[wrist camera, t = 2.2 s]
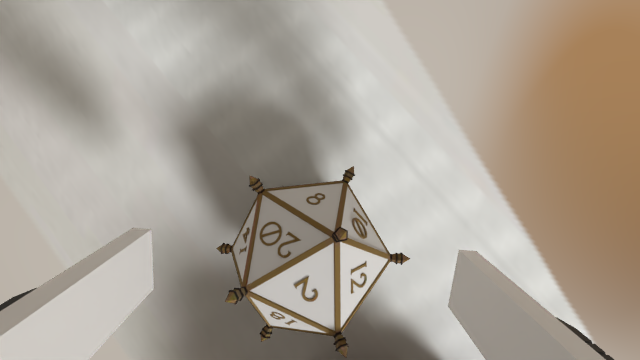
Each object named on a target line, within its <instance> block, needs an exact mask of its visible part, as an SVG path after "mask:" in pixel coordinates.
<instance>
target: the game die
mask: <svg viewBox="0 0 640 360" xmlns="http://www.w3.org/2000/svg"><path fill="white" fill-rule="evenodd" d="M353 176H355V175H354V166H353V167H351V168H350V169H348V170H345V174H343V180H342V181H334V182H325V183H315V184H306V185H297V186H287V187H284V186H283V187H278V188H269V189H263V186H262V185H263V184H262V183H260V179H259V178H258V179H257V178H254V177H252V176H250V185H249V187H252V188H253V191H254V190H255V191H256V192H257V193H258V196H257V198H256V200H255V202H254V204H253V206H252V208H251V210H250V212H249V214H248V216H247V218H246V220H245V222H244V224H243V226H242V228H241V230H240V232H239V234H238V236H237V238H236V240H235V242H234V244H233V246H231V245H229V244H225V243H223V244H222V245H221V246H219V247H218V248H216V249H218V250H219V251H220V252H221V254H224V253H225V254H228V253H229V252H232V256H233V260H234V263H235V267H236V270H237V274H238V278H239V281H240V285H241V288H234V290H230V291H229V294H228V297H227V299H226V301H225V302H230V303H234V304H237V302H238V301H241V300H242V298H243V297H244V295H245V296H246V297H247V299H248V300H249V301H250V303H251V304H252V305H253V307H254V308H255V309H256V311H257V312H258V313H259V315H260V316H261V317H262V318H263V320H264V321H265V322H266V324H267V325H266V326H265V327H264V328H263V329H262V331H261V332H260V335H261V342H262V341H264V340H266V339H268V338H270V335H271V334H272V328H273V327H274V328H281V329H288V330H295V331H302V332H309V333H315V334H322V335H329V336H334V338H335V343H334V345H336V351H338V352H340V353H341V354H342V355H343V356H345V357H347V347H348V343H346V339H345V337H343V336H342V332H343V330H344V329H345V327H346V326H347V324H348V323H349V321H350V320H351V318H352V317H353V316H354V314H355V313H356V311H357V310H358V308H359V307H360V305H361V304H362V302H363V301H364V299H365V298H366V296H367V295H368V293H369V292H370V291H371V289H372V288H373V286H374V285H375V283H376V282H377V280H378V279H379V277H380V276H381V274H382V273H383V271H384V270H385V268H386V267H387V265H388V264H389V263H390V262H395V263H396V264H397V263H401V265H402V263H404V262H405V261H407V260H409V259H410V258H408V257H406V256H405V255H403V254H402V253H400V254H397V253H396V254H390V253H389V251H388V250H387V248H386V246H385V245H384V243H383V241H382V240H381V238H380V236H379V235H378V233H377V231H376V230H375V228H374V226H373V225H372V223H371V221H370V220H369V218H368V216H367V215H366V213H365V211H364V210H363V208H362V206H361V205H360V203H359V201H358V200H357V198H356V196H355V195H354V193H353V191H352V190H351V188H350V186H349V185H348V183H349V181H350V180H352V177H353Z"/></svg>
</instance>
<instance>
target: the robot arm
mask: <svg viewBox="0 0 640 360" xmlns="http://www.w3.org/2000/svg"><path fill="white" fill-rule="evenodd" d="M153 289H154V280H153V254H152V229H139V228H132V229H131V230H129V231H127V232H126V233H124V234H123V235H121V236H119V237H118V238H116V239H115V240H113V241H111V242H110V243H108V244H107V245H105V246H103V247H102V248H100V249H99V250H97V251H96V252H94V253H92V254H91V255H89V256H88V257H86V258H84V259H83V260H81V261H80V262H78V263H76V264H75V265H73V266H72V267H70V268H68V269H67V270H65V271H64V272H62V273H60V274H59V275H57V276H56V277H54V278H52V279H51V280H49V281H48V282H46V283H45V284H43V285H41V286H40V287H38V288H35V289H32V290H30V291H27V292H25V293H22V294H20V295H18V296H15V297H13V298H11V299H9V300H8V301H6V302H5V303H3V304H1V305H0V360H89V359H90V357H92V355H93V354H94V353H95V352H96V351H97V350H98V349H99V348H100V347H101V346H102V344H103V343H104V342H105V341H106V340H107V339H108V338H109V337H110V336H111V335H112V334H113V333H114V332H115V330H116V329H117V328H118V327H119V326H120V325H121V324H122V323H123V322H124V321H125V320H126V318H127V317H128V316H129V315H130V314H131V313H132V312H133V311H134V310H135V309H136V308H137V306H138V305H139V304H140V303H141V302H142V301H143V300H144V299H145V298H146V297H147V296H148V294H149V293H150V292H151V291H152V290H153ZM448 307H449V308H450V310H451V311H452V312H453V314H454V315H455V317H456V318H457V320H458V321H459V322H460V324H461V325H462V327H463V328H464V329H465V331H466V332H467V334H468V335H469V337H470V338H471V339H472V341H473V342H474V344H475V345H476V346H477V348H478V349H479V351H480V352H481V354H482V355H483V356H484V358H485V359H486V360H614V359H613V358H612V357H610V356H609V355H606V354H605V352H604V351H603V350H602V349H600V348H599V347H598V346H597V345H596V344H592V341H591V340H589V339H588V338H587V337H586V336H584V335H583V334H582V333H581V332H580V331H578V330H577V329H576V328H574V327H572V326H571V325H569V324H567V323H565V322H564V321H562V320H560V319H558V318H556V317H554V316H553V315H552V314H551V313H549V312H548V311H547V310H546V309H545V308H544V307H542V306H541V305H540V304H539V303H538V302H536V301H535V300H534V299H533V298H532V297H530V296H529V295H528V294H527V293H526V292H524V291H523V290H522V289H521V288H520V287H518V286H517V285H516V284H515V283H514V282H512V281H511V280H510V279H509V278H508V277H506V276H505V275H504V274H503V273H502V272H500V271H499V270H498V269H497V268H496V267H494V266H493V265H492V264H491V263H490V262H488V261H487V260H486V259H485V258H484V257H483V256H481V255H480V254H479V253H478V252H477V251H466V250H459V252H458V258H457V263H456V268H455V273H454V278H453V284H452V289H451V294H450V299H449V304H448Z"/></svg>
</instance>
